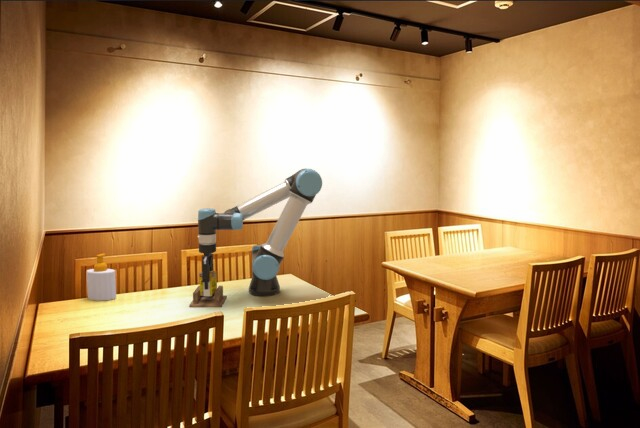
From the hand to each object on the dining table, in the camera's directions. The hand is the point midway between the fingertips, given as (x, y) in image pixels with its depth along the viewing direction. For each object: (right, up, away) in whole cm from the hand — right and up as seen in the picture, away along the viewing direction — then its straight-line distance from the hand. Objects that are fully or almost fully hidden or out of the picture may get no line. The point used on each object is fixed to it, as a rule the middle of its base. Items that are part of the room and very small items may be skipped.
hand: (208, 293), depth 211 cm
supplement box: (0, -1, 0) cm, 1 cm away
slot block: (0, -4, +1) cm, 4 cm away
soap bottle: (-50, -3, +5) cm, 51 cm away
